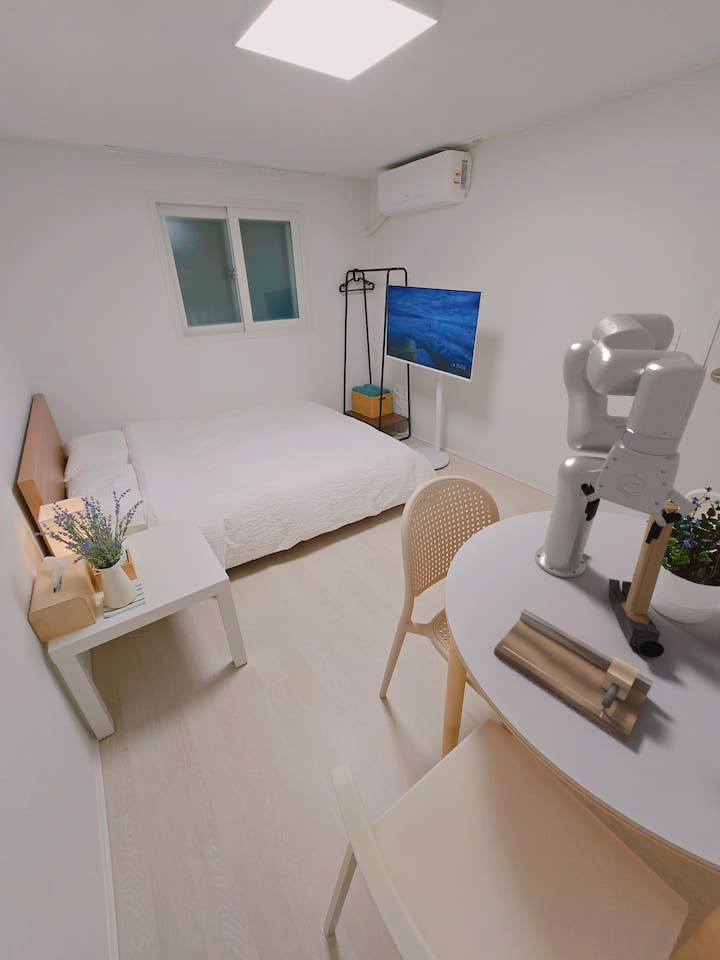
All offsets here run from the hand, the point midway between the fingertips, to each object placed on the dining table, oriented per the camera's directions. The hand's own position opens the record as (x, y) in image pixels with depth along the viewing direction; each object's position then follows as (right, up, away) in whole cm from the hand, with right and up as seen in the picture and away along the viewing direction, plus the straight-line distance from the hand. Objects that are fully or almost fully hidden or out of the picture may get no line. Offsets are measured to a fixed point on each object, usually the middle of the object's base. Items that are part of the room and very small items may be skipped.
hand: (618, 528), depth 72 cm
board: (-5, -30, +8) cm, 32 cm away
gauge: (0, -31, +2) cm, 31 cm away
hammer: (+15, -24, +19) cm, 34 cm away
